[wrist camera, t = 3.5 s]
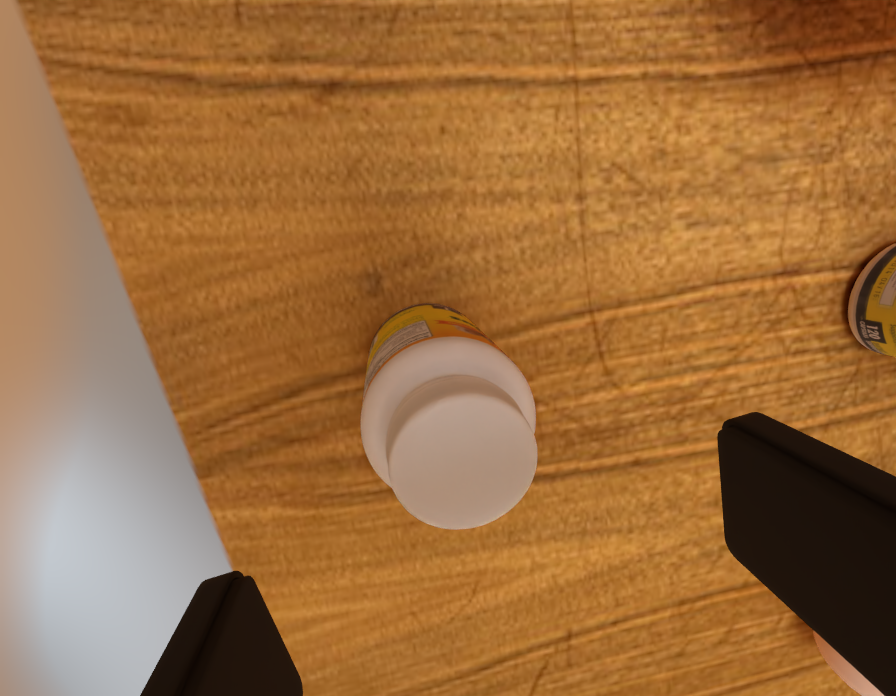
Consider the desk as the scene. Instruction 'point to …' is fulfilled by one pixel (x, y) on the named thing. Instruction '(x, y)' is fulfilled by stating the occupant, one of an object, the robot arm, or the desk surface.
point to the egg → (845, 669)
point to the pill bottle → (875, 304)
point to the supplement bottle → (447, 418)
